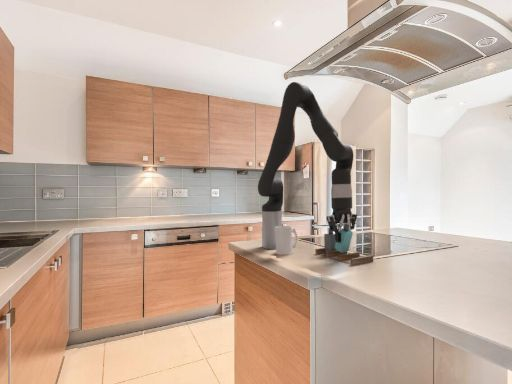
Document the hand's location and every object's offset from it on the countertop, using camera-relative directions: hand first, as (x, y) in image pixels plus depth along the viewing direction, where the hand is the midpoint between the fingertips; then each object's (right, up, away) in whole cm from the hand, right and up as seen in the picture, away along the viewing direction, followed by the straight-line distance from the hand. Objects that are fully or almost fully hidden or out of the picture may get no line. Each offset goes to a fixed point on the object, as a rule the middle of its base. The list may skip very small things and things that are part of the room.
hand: (342, 241), depth 106 cm
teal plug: (0, -3, +1) cm, 3 cm away
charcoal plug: (-3, -6, +6) cm, 9 cm away
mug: (-20, -8, +10) cm, 24 cm away
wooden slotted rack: (0, -7, 0) cm, 7 cm away
